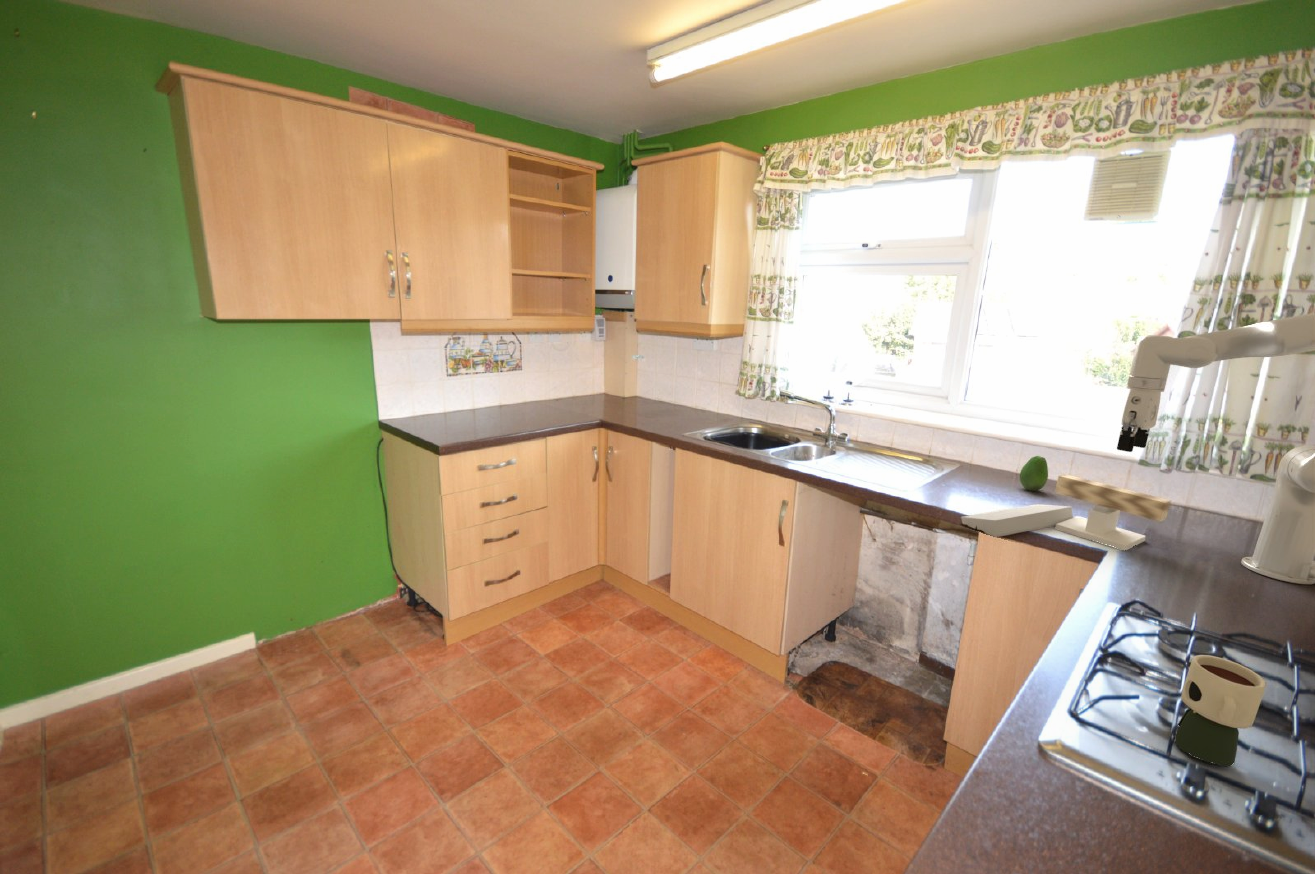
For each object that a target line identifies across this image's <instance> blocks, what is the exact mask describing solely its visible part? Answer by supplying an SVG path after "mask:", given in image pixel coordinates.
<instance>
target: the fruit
mask: <svg viewBox="0 0 1315 874" xmlns="http://www.w3.org/2000/svg"><path fill="white" fill-rule="evenodd" d="M1048 478H1049V467H1048V462H1047V460H1046V457H1043V456H1040V455H1035V456H1032V457H1030V458H1029V460H1028V461H1027V462H1026V463H1025V464H1024V465H1023V466H1022V468H1021V469H1020V472H1019V481H1020V483H1021V485H1022V487H1023V488H1025V489H1026V490H1027V491H1032V492H1036V491H1040V490H1041V489H1043V488H1044V487H1045V485H1046V484H1047V482H1048Z"/></svg>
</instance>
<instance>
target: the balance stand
mask: <svg viewBox="0 0 1315 874" xmlns="http://www.w3.org/2000/svg"><path fill="white" fill-rule="evenodd" d="M1120 514H1121V511H1120V510H1116V509H1112V508H1109V507H1105V506H1102V505H1098V504H1096V505H1094V507H1093V508H1090V509H1089V513H1088V517H1087V518H1086V517H1083V516H1080V515H1076V516H1073V518H1071V519H1068V520H1066V521H1063V522H1060V523H1058V524H1056V525H1055V527H1054V528H1055V530H1058V531H1060V532H1063V533H1066V534H1070V535H1073V536H1075V537H1076V536H1077V537H1079V536H1080V537H1079V538H1082V537H1083V538H1082V539H1085V538H1086V539H1085V540H1088V539H1089V541H1091V540H1094V541H1098V542H1100V543H1103V544H1107V545H1111V546H1114V547H1116V548H1118V549H1117V550H1119V549H1120V550H1119V551H1122V550H1124V551H1123V552H1126V551H1128V550H1130V549H1131V548H1133V546H1134V547H1136V546H1137V545H1140V544H1142V543H1144V542H1146V541H1145V540H1146V536H1147V535H1143V534H1140V533H1137V532H1134V531H1130V530H1127V529H1124V528H1121V527H1118V526H1117V525H1118V521H1119V518H1120ZM1094 541H1093V542H1094ZM1100 543H1099V544H1100ZM1103 544H1102V545H1103ZM1107 545H1106V546H1107ZM1135 545H1136V546H1135ZM1116 548H1115V549H1116ZM1125 550H1126V551H1125Z"/></svg>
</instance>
